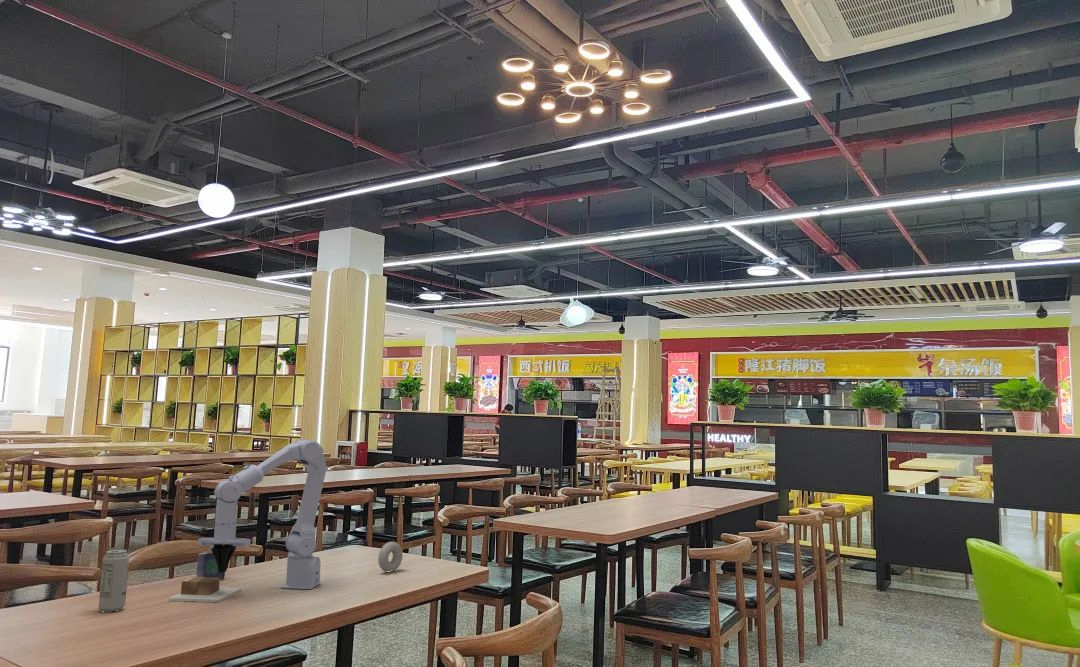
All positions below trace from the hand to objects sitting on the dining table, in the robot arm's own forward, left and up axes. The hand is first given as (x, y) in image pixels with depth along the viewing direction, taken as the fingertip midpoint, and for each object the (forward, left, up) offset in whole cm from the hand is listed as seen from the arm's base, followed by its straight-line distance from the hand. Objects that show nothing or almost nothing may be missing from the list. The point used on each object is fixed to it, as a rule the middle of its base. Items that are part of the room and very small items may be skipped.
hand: (222, 571), depth 207 cm
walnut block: (+2, 0, -4) cm, 4 cm away
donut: (-39, -39, -7) cm, 55 cm away
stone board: (+4, 0, -7) cm, 8 cm away
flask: (+12, -18, -7) cm, 23 cm away
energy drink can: (+20, +18, -7) cm, 28 cm away
